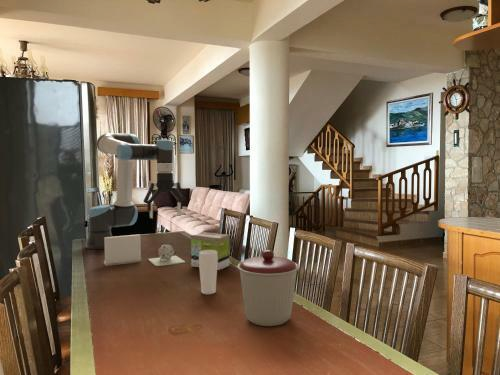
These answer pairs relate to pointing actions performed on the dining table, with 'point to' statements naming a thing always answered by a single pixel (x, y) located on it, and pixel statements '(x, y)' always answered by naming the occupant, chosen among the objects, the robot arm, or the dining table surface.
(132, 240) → the screen
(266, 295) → the canister
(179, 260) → the tile
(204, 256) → the drinking glass
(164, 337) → the dining table surface
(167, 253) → the game die
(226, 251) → the tea box
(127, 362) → the dining table surface
